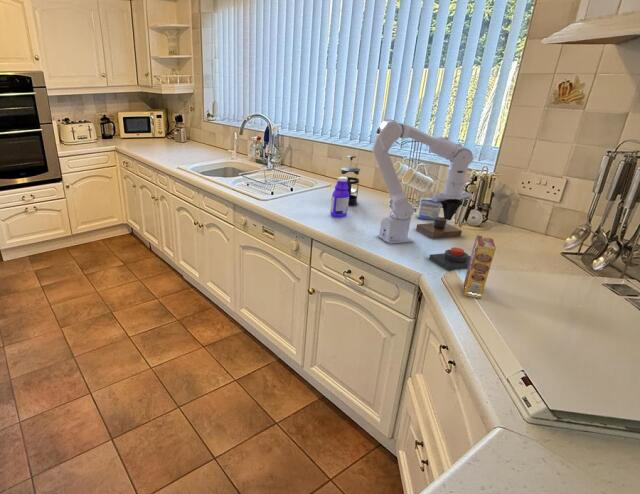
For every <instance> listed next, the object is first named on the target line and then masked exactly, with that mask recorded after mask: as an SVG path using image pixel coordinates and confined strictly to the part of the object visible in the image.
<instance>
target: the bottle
mask: <svg viewBox="0 0 640 494" xmlns="http://www.w3.org/2000/svg"><path fill="white" fill-rule="evenodd" d="M347 177H348V176H338V177H337V181H336V185H334V190H333V192H332V194H331V203H330V212H329V213H330V216H331V217H333V218H336V219H337V218H339V219H340V218H345V217H347V215H348V208H349V206H348V202H349V192H348V189H349V187H348V185H347V180H348V178H347Z"/></svg>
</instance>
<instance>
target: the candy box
mask: <svg viewBox="0 0 640 494" xmlns="http://www.w3.org/2000/svg"><path fill="white" fill-rule="evenodd" d="M495 253H496V245H495V240H494V238H493V237H492V236H485V235H476V236H475V240H474V243H473V246H472V251H471V254H470V256H471V258H470V261H469V265H468V269H466V273H465V278H464V281H463V291H464V292H463V293H464V296H466V297H470V298H473V299H474V298H475V299H479V300H481V299H482V296H477V295H472V294H468V293H467V292H472V293H477V294H482V295H483V293H484V289H485V286H486V282H487V279H488V275H489V274H490V273H489V272H490V270H491V266H492V263H493V259H494V256H495ZM465 287H466V288H465ZM465 292H466V293H465Z"/></svg>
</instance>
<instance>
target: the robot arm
mask: <svg viewBox="0 0 640 494" xmlns="http://www.w3.org/2000/svg"><path fill="white" fill-rule="evenodd" d="M408 138H409V139H412V140H414V141H416V142H419V143H420V144H422V145H425V146H428V147H429V151H430V153H432V154H434V155H436V156H439V157H440V158H442V159H445V160H447V161H449V166H448V170H447V175H446V179H445V184H444V189H443V192H441V193H437V194H432V195H431V198H432V199H431V200H432V201H434V202H437V201H440V202H441V208H442V210H443V211H442V212H443V217H444V219H446V221H451V220H453V217H454V215H455V213H456V212H457V210H458V209H459V208H460V207H461V206H462V205H463V200H472V199H473V196H474V195H473V193H471V192H464V189H465V183H466V178H467V175H468V170H469V169H468V168H469V165H470V164H472V162H473V161H474V157H473V156H474V155H473V152H472V151H471V150H470V149H469V148H466V147H465V146H463V145H462V144H461V143H459V142H457V143H456V142H453V141H452V140H450V139H449V138H450V137H448V136H446V135H444V136H440V135H439V136H437V137H433V136H432V135H429V134H427V133H425V132H424V131H421V130H419V129H418V128H416V127H414V126H412V125H409V124H406V123H403V122H400V121H395V120H394V119H391V118H389V119H385V120H383V121H382V122H381V123H380V124H379V126H378V127H377V129H376V130H375V138H374V140H373V145H372V154H373V156H374V159H375V161H376V163H377V166H378V169H379V171H380V174H381V176H382V179H383V182H384V184H385V187H386V189H387V191H388V194H389V198H390V208H391V210H392V211H391V212H390V213H389V216H387V217H384V218H382V220H381V222H380V229H379V234H378V235H377V236H378V238H380V239H381V240H383V241H384V242H386V243H387V244H389V245H390V244H403V243H412V242H413V240H412V239H411V238H409V237H408V236H409V231H410V226H411V220H412V216H413V214H414V211H415V208H414V206H413V205H412V204H411V203H410V202H409V200H408V198H407V196H406V194H405V192H404V190H403V187H402V184H401V182H400V179H399V176H398V174H397V171H396V169H395V166H394V162H393V161H392V158H391V155H390V153H389V151H390V150H391V148H392V146H393V144H395V142H396V141H398V140H399V139H408Z"/></svg>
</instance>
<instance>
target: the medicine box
mask: <svg viewBox="0 0 640 494" xmlns="http://www.w3.org/2000/svg"><path fill="white" fill-rule="evenodd" d="M419 198H420V199H419V205H418V211H417V219H420V220H428V221H429V220H430V221H434V220H435V217H440V211H441V208H442V204H441V202H440V201H437V202H434V201H432V200H431V199H432V197H423V196H421V197H419Z"/></svg>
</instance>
